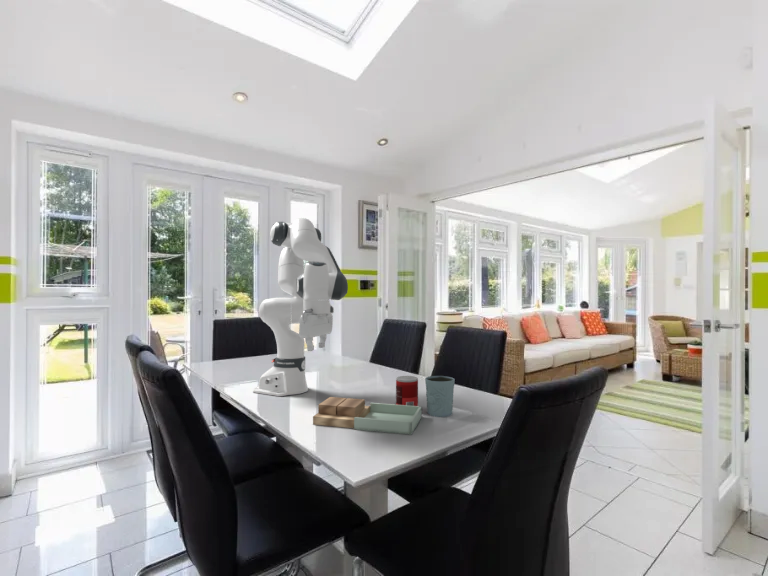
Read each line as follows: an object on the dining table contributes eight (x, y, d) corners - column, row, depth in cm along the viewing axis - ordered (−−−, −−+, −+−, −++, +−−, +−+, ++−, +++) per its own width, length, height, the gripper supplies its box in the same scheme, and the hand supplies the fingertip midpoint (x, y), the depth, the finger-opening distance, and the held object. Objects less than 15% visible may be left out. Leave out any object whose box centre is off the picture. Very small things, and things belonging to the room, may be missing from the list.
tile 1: (318, 413, 135) (318, 404, 135) (330, 405, 145) (330, 396, 145) (335, 415, 134) (335, 406, 134) (346, 406, 143) (346, 398, 143)
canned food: (421, 407, 151) (421, 377, 151) (410, 413, 145) (410, 381, 145) (403, 404, 156) (403, 374, 156) (391, 409, 149) (391, 378, 149)
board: (313, 424, 133) (313, 416, 133) (332, 410, 148) (332, 403, 148) (355, 428, 129) (355, 420, 129) (370, 413, 144) (370, 406, 144)
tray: (354, 429, 128) (354, 417, 128) (370, 412, 145) (370, 402, 145) (411, 434, 124) (411, 422, 124) (421, 416, 141) (421, 406, 141)
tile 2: (337, 415, 134) (337, 406, 134) (348, 406, 143) (348, 398, 143) (355, 417, 132) (355, 407, 132) (364, 408, 142) (364, 399, 142)
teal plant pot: (426, 417, 140) (426, 381, 140) (423, 408, 150) (423, 375, 150) (456, 417, 140) (456, 381, 140) (452, 408, 150) (452, 375, 150)
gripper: (312, 309, 133) (312, 353, 132) (335, 308, 152) (335, 346, 152) (294, 309, 134) (294, 352, 134) (319, 308, 154) (319, 345, 154)
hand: (316, 349), depth 143 cm, fingers open, 8 cm apart
